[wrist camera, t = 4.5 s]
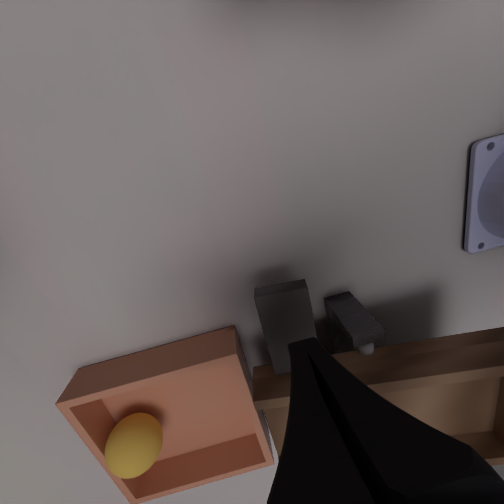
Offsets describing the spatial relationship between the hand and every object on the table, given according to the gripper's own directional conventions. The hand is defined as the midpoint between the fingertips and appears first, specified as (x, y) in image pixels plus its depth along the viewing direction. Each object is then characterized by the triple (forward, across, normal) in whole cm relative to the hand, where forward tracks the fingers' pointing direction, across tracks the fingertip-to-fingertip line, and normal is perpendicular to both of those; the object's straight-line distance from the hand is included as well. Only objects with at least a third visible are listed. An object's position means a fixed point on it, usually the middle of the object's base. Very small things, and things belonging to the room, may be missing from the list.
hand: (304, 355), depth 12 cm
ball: (+5, +13, +8) cm, 16 cm away
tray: (+7, +10, +8) cm, 15 cm away
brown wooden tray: (+4, -5, +6) cm, 8 cm away
